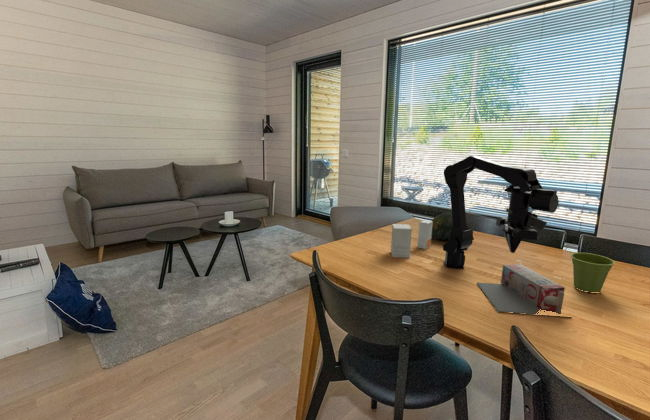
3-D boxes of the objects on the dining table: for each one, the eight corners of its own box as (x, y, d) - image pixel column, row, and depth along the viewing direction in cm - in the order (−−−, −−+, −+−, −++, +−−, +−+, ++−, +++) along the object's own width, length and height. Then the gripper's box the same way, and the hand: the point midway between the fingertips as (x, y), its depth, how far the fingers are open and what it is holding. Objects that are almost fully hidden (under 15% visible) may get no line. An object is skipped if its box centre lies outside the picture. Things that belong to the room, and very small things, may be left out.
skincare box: (425, 249, 155) (428, 223, 152) (416, 247, 158) (419, 222, 155) (430, 246, 160) (433, 221, 157) (422, 244, 162) (424, 219, 160)
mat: (497, 312, 100) (497, 310, 100) (476, 283, 120) (476, 282, 120) (571, 318, 98) (571, 316, 98) (538, 288, 118) (538, 286, 118)
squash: (420, 224, 178) (435, 206, 166) (445, 223, 182) (460, 206, 171) (430, 248, 170) (446, 231, 158) (455, 247, 174) (473, 230, 163)
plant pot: (566, 279, 125) (572, 250, 123) (608, 289, 118) (615, 257, 116) (563, 290, 116) (569, 258, 114) (608, 301, 109) (615, 267, 107)
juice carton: (500, 283, 120) (550, 315, 98) (503, 264, 118) (554, 293, 97) (517, 282, 121) (570, 314, 99) (520, 264, 119) (574, 292, 98)
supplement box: (407, 252, 151) (409, 224, 148) (409, 258, 143) (412, 228, 141) (390, 251, 151) (392, 223, 149) (391, 257, 144) (393, 228, 141)
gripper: (561, 214, 103) (552, 264, 106) (531, 202, 121) (525, 245, 124) (521, 212, 104) (514, 261, 107) (498, 201, 122) (493, 243, 125)
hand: (512, 252), depth 116 cm, fingers closed
